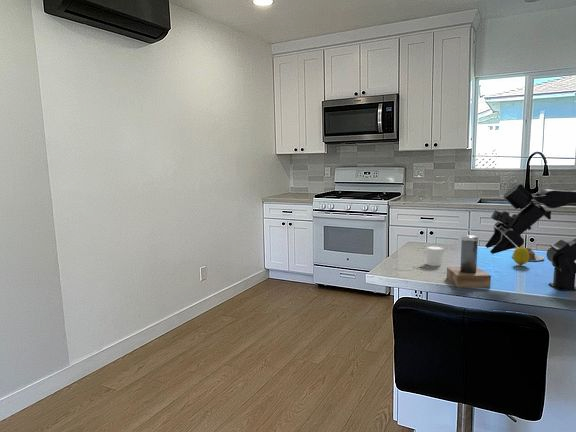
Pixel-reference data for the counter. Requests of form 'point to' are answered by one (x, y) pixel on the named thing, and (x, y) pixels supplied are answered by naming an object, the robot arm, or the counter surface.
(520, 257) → the lemon
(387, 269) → the counter surface
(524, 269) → the counter surface
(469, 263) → the tea tin
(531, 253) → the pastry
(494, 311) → the counter surface
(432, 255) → the shot glass
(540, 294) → the counter surface
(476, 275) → the walnut block
